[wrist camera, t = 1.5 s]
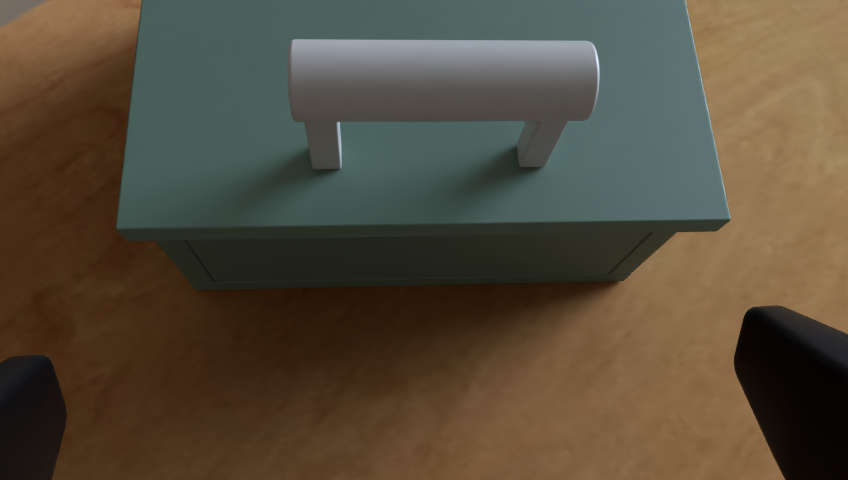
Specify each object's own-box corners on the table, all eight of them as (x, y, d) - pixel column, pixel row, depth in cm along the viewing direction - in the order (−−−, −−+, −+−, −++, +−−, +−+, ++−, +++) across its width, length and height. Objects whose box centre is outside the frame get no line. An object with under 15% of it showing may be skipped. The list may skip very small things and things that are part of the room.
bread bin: (623, 281, 25) (710, 204, 18) (195, 290, 24) (129, 211, 17) (583, 6, 29) (643, -135, 22) (215, 3, 28) (168, -147, 21)
